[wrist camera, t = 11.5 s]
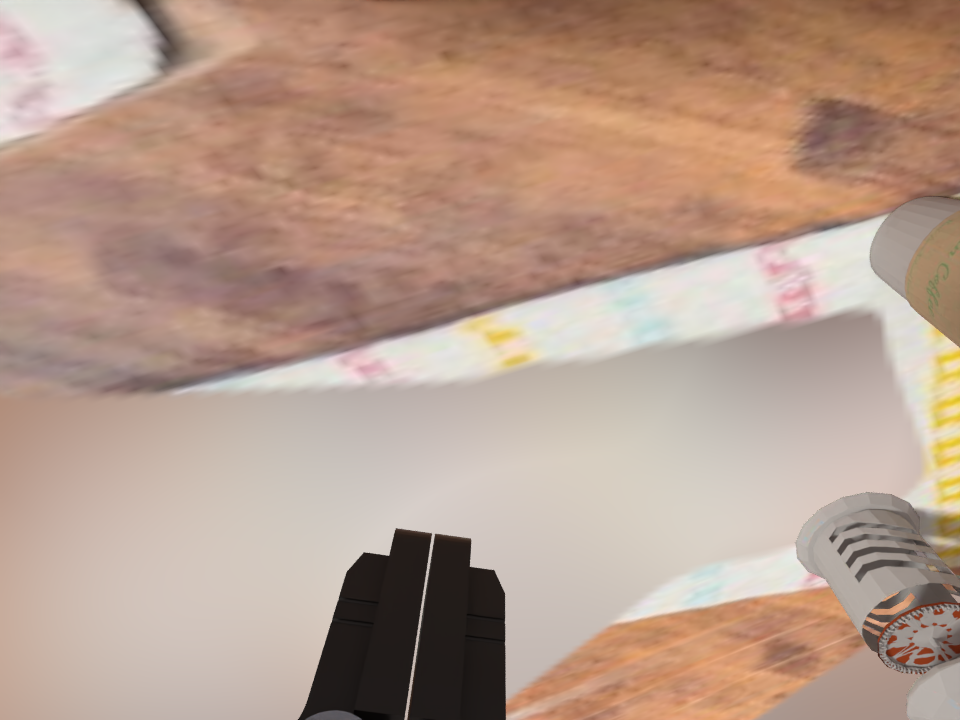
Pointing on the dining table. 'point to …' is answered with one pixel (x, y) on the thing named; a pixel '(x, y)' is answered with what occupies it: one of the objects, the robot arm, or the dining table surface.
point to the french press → (891, 592)
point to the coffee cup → (923, 259)
